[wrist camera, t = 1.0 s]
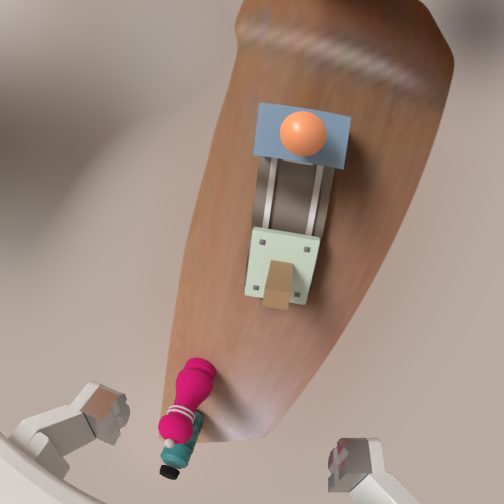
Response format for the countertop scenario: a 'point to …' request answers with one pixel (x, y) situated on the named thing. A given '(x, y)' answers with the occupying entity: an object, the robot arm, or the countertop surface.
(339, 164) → the blue side pieces
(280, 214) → the track
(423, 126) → the countertop surface
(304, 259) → the carriage
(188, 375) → the pepper mill
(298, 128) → the orange rounded knob
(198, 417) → the beverage bottle
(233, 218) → the countertop surface
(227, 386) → the countertop surface
